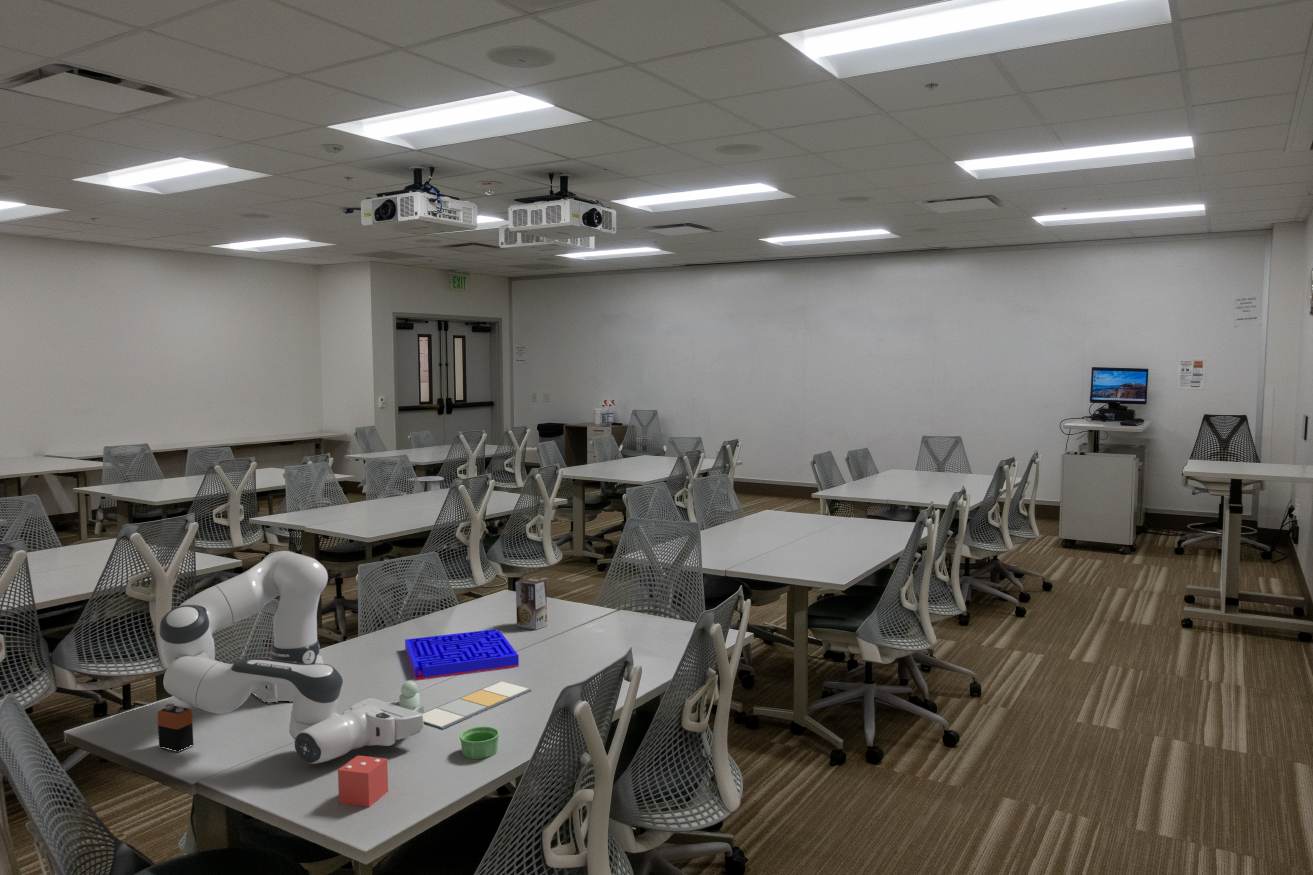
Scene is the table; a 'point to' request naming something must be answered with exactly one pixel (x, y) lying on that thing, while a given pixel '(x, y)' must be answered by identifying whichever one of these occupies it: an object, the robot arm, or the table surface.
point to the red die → (363, 781)
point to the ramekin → (479, 742)
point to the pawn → (409, 696)
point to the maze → (460, 653)
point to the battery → (175, 727)
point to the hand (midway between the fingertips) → (412, 705)
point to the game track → (472, 704)
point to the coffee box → (531, 603)
